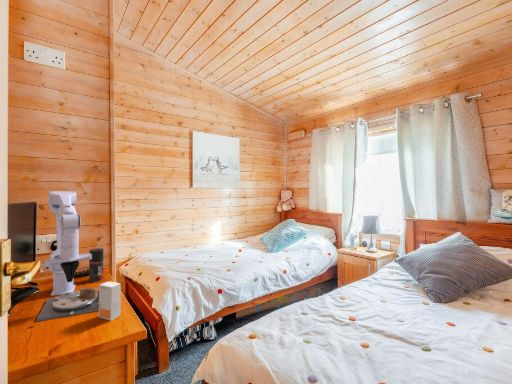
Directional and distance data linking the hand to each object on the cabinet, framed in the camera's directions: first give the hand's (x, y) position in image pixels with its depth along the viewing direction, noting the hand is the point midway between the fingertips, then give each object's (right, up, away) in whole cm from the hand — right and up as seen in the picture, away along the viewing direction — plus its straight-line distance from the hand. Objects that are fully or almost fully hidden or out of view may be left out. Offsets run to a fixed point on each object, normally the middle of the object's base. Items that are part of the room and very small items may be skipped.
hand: (69, 281), depth 103 cm
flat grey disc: (+1, -9, +2) cm, 9 cm away
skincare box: (+19, -11, -6) cm, 22 cm away
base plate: (0, -10, +2) cm, 10 cm away
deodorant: (-7, -10, +30) cm, 32 cm away
